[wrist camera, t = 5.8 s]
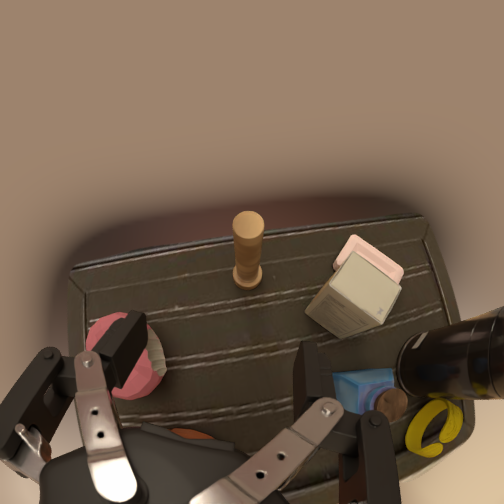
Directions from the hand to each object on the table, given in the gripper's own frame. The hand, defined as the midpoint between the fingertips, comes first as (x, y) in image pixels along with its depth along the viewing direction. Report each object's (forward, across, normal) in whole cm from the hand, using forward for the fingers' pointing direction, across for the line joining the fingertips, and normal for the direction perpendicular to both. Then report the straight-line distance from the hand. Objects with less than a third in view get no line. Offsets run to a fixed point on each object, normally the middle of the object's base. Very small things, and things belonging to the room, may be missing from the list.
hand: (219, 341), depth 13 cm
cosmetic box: (+19, -11, +10) cm, 24 cm away
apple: (+12, +11, +16) cm, 23 cm away
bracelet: (+4, -29, +19) cm, 35 cm away
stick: (+21, 0, +7) cm, 22 cm away
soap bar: (+23, -16, +5) cm, 29 cm away
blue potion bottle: (+12, -15, +17) cm, 25 cm away
